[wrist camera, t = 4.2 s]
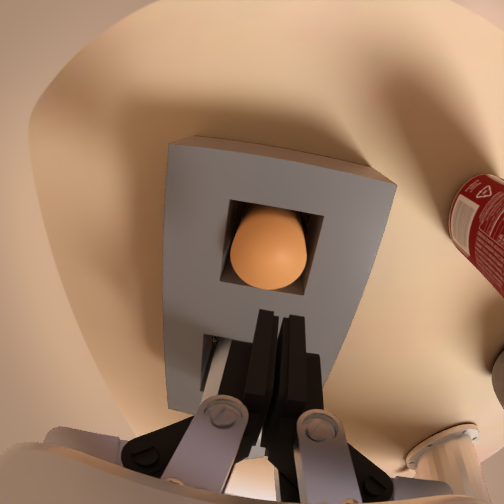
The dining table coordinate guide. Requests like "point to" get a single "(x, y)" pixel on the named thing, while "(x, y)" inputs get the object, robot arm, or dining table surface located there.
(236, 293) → the housing
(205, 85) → the dining table surface
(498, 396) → the smart speaker
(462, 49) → the dining table surface
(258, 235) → the brown egg
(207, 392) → the cylinder
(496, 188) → the soda can
